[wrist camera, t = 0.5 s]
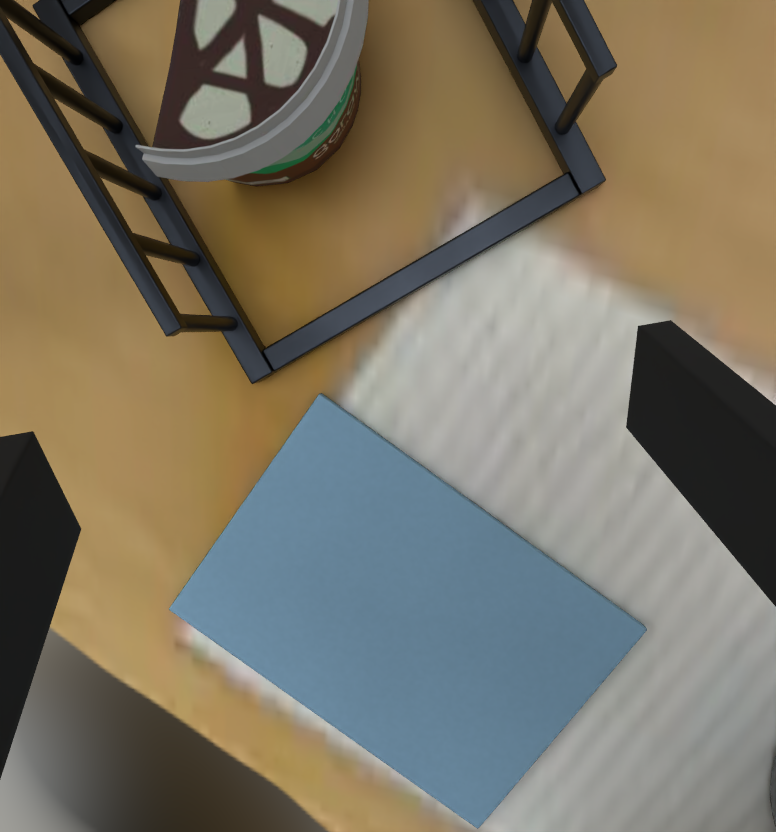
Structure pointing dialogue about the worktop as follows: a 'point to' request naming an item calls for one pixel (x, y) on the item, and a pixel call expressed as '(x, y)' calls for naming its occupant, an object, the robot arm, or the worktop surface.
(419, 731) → the drying mat
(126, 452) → the worktop surface
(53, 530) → the robot arm
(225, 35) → the food container
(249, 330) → the dish rack
